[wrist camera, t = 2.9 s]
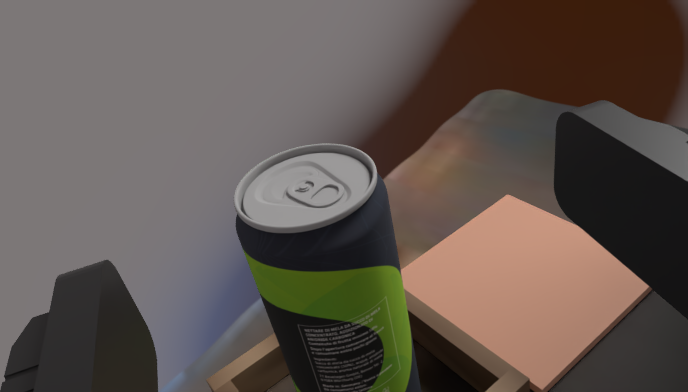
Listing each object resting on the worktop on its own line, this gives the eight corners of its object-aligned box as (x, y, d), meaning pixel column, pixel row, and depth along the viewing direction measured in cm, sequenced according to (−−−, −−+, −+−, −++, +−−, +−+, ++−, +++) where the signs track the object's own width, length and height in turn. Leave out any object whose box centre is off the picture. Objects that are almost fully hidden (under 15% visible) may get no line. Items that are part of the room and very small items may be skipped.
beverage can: (445, 391, 30) (415, 157, 22) (378, 488, 27) (309, 253, 18) (356, 344, 34) (300, 129, 26) (286, 424, 31) (194, 204, 22)
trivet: (507, 200, 43) (507, 194, 42) (667, 274, 34) (669, 267, 34) (389, 285, 38) (388, 279, 37) (541, 397, 29) (542, 390, 29)
